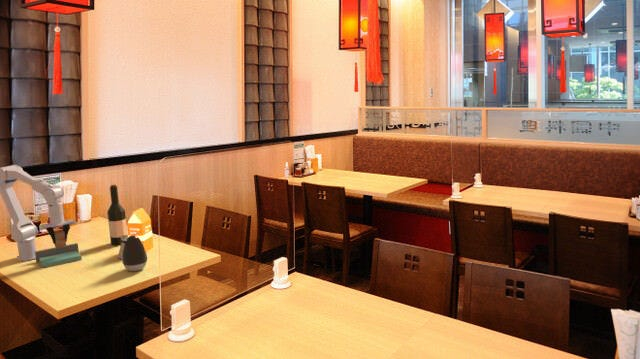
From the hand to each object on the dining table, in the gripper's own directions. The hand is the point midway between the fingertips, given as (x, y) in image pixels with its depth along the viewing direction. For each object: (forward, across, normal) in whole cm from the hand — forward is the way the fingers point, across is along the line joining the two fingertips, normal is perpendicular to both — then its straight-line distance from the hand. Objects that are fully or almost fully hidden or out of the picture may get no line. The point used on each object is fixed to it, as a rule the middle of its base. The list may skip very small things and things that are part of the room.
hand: (59, 242), depth 234 cm
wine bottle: (+9, +28, +9) cm, 31 cm away
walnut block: (+2, 0, 0) cm, 2 cm away
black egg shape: (+9, +22, -35) cm, 43 cm away
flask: (+9, +24, -15) cm, 30 cm away
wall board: (+9, -1, +1) cm, 9 cm away
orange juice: (+9, +33, -10) cm, 36 cm away
